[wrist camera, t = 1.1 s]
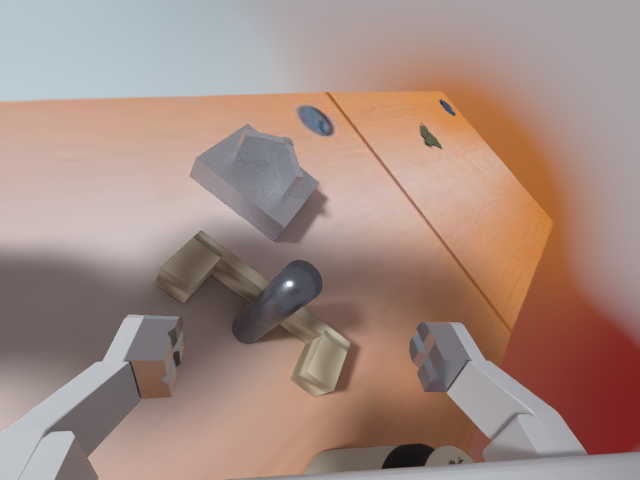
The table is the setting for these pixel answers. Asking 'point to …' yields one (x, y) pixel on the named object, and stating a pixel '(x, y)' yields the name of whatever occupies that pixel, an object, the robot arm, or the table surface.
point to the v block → (256, 178)
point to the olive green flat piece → (429, 137)
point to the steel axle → (278, 301)
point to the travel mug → (385, 458)
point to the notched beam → (211, 258)
